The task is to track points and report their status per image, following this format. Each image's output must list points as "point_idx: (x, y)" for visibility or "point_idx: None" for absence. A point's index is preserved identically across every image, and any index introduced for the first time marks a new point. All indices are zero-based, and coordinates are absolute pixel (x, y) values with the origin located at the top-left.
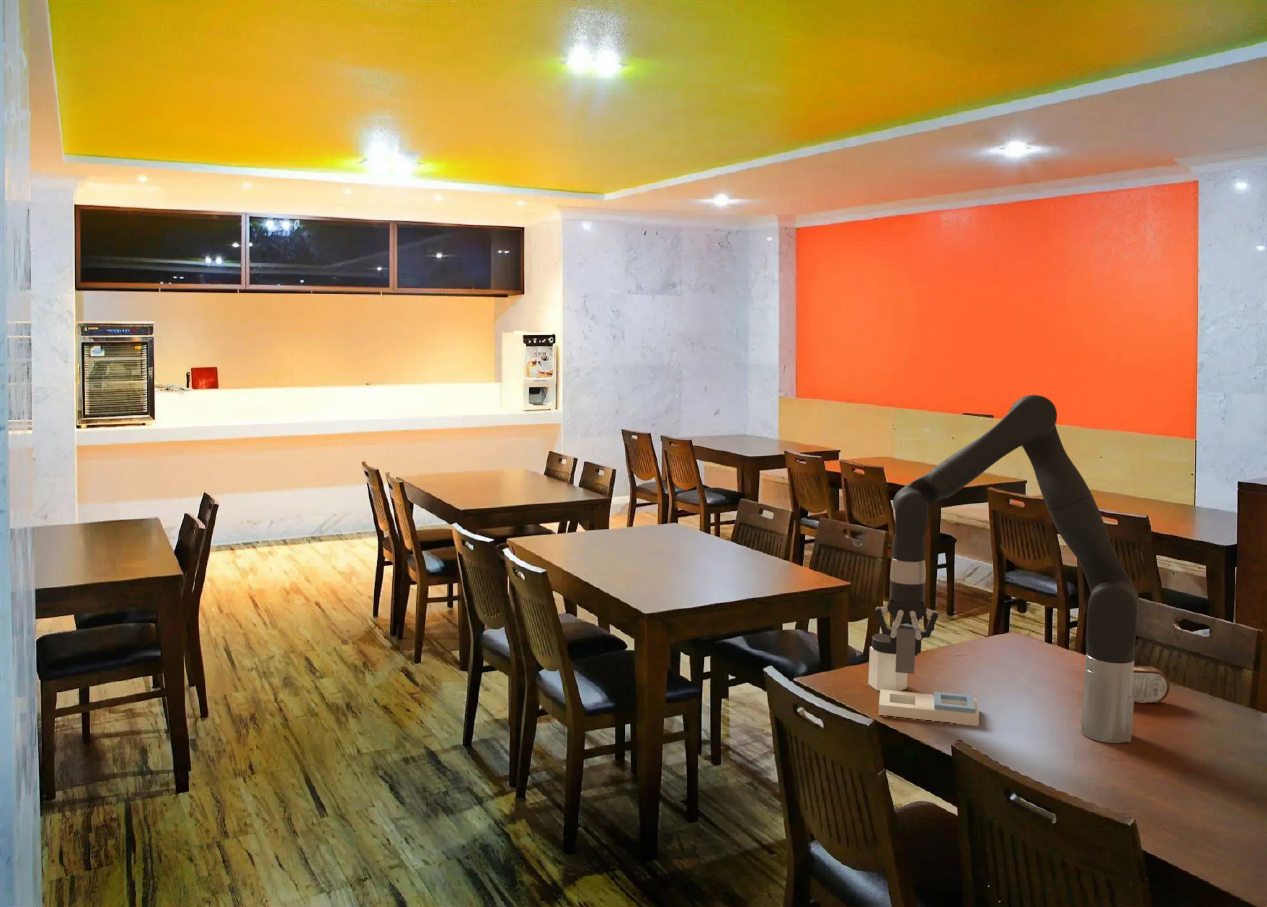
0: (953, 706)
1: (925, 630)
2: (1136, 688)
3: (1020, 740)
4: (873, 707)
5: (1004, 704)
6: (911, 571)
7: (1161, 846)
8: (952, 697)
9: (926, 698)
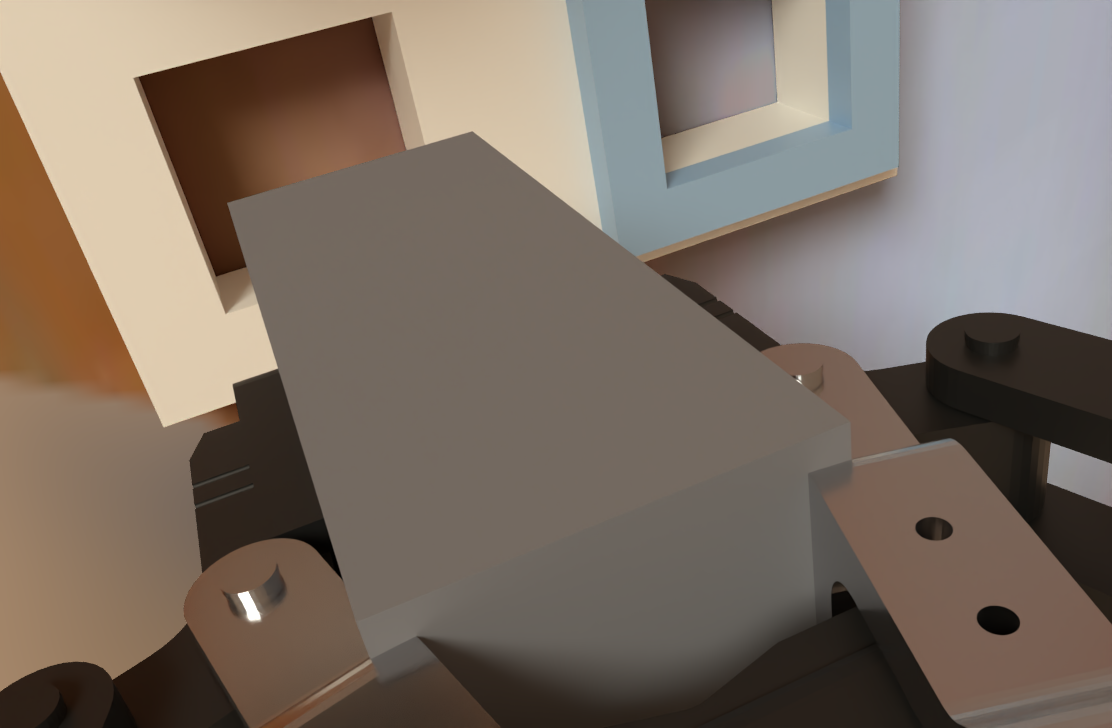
0: (755, 209)
1: (994, 429)
2: None
3: (1033, 237)
4: (28, 228)
5: None
6: None
7: None
8: None
9: (502, 18)
